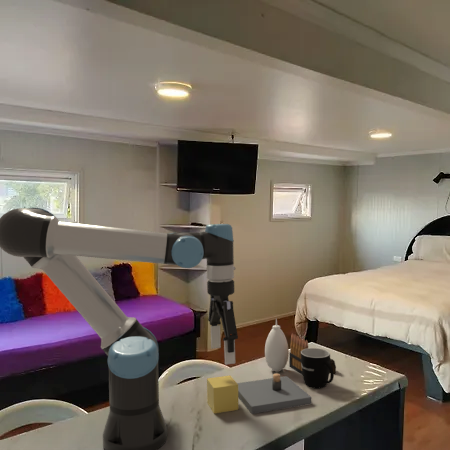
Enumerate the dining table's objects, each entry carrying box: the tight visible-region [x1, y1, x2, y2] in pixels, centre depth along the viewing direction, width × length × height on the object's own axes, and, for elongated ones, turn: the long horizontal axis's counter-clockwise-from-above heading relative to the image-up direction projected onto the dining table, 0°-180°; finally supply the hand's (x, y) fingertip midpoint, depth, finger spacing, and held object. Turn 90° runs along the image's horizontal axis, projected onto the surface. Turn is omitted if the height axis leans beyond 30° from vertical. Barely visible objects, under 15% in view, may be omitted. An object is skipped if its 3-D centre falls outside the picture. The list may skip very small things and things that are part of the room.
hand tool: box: [329, 357, 337, 375], centre depth 151 cm, size 19×4×5 cm, turn 22°
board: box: [236, 373, 312, 415], centre depth 126 cm, size 18×16×6 cm
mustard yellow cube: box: [206, 375, 239, 414], centre depth 121 cm, size 7×7×7 cm
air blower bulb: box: [264, 317, 290, 373], centre depth 146 cm, size 8×8×18 cm
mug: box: [301, 347, 335, 390], centre depth 133 cm, size 12×9×10 cm
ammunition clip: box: [288, 332, 309, 376], centre depth 146 cm, size 11×2×12 cm, turn 22°
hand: (222, 355), depth 121 cm, fingers open, 13 cm apart
